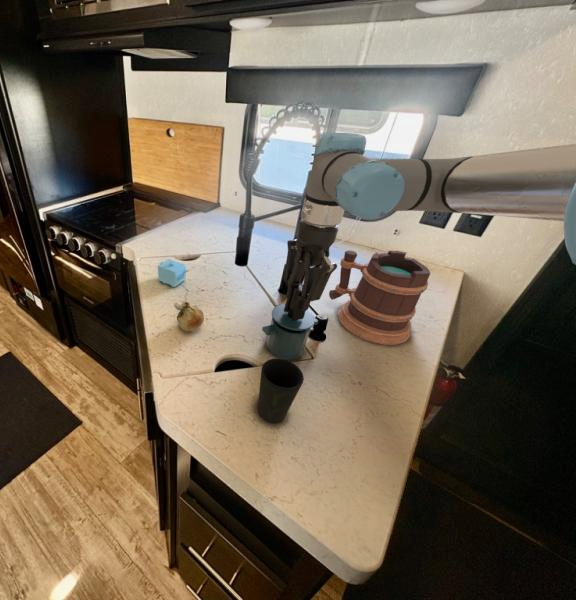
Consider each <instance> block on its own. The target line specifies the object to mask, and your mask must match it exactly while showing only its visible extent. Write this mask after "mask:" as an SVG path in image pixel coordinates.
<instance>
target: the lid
mask: <svg viewBox="0 0 576 600" xmlns="http://www.w3.org/2000/svg"><path fill="white" fill-rule="evenodd" d="M302 288H303V285H297V286H295V289H294V292H293V296H292V300H291V304H290V307H289V311H288V312H286V313H285V312H284V308H285V304H286V303H282V304H278V305H276V306H274V307H273V308H272V310H271V319H272V318H273V319H274V321H275V322H276V323H277V324H279V325H280V326H282V327H284V328H287V329H290V330H295V331H303V330H308V329H310V328H311V329H312V327H314V326H315V325H314V323H315V318H316V317H315V315H314V314H313V313H312V312H311V311H310V310H309V309H308V310H306V312H305V315H304V318H303V319H299V320H295V321H293V320H292V316H293V313H294V309H295V306H296V302H297V298H298V296H301V294H302ZM314 317H315V318H314Z"/></svg>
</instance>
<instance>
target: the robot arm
mask: <svg viewBox="0 0 576 600" xmlns="http://www.w3.org/2000/svg"><path fill="white" fill-rule="evenodd" d="M366 145H367V138H366V136H365V135H363V134H359V133H352V132H327V133H325V134H323V135H322V136H321V137H320V138H319V140H318V143H317V147H316V150H315V153H314V155H313V161H312V166H311V171H310V175H309V179H308V183H307V188H306V192H305V196H304V201H303V205H302V209H301V213H300V218H301V219H300V220H299V221H298V225H297V229H296V232H295V238H296V239H291V240H287V254H286V255H287V256H286V260H285V267H284V273H283V274H284V275H283V281H284V282H287V287H288V288H287V291H286V300H285V303H284V304H285V308H284V312H285V313H286V312H288V311H289V307H290V304H291V300H292V296H293V292H294V289H295V286H297V285H301V286H303V288H302V294H301V296H298V298H297V302H296V306H295V309H294V313H293V316H292V320H293V321H295V320H299V319H303V318H304V315H305V312H306V310H309V308H310V305H311V302H316V301H319V300H321V298H322V294H324V291H325V289H326V287H327V284H328V283H329V280H330V277H331V275H332V274H333V272H334V271H336V269H338V264H337V263H336V262H332V261H331V260H330V258H329V257H330V248H331V246H332V245H333V244H334V243H335V241H336V238H337V235H338V233H339V229H340V226H339V225H340V224H341V223H342V220H343V217H344V214H345V212H347V213H349V214H350V215H353V216H354V217H356V218H358V219H363V220H372V219H376V218H379V217H381V216H383V215H386V214H388V213H389V212H403V211H405V212H408V211H411V212H412V211H414V212H439V213H452V214H471V215H482V216H483V215H484V216H492V217H493V216H494V217H495V216H496V217H507V218H517V219H518V218H519V219H529V220H543V221H555V222H563V237H564V243H565V249H566V250H567V253H568V256H569V258H570V260H571V263H572V264H574V265H575V266H576V143H569V144H561V145H553V146H544V147H539V148H538V147H537V148H536V147H535V148H530V149H529V148H528V149H523V150H522V149H521V150H512V151H505V152H503V151H502V152H496V153H488V154H480V155H472V156H471V155H470V156H462V157H453V158H395V157H394V158H391V157H390V158H389V157H388V158H387V157H386V158H377V157H376V158H375V157H369V156H366V155H364V154H365V153H366ZM302 279H303V283H301V282H302Z"/></svg>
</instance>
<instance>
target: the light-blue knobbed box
mask: <svg viewBox="0 0 576 600" xmlns="http://www.w3.org/2000/svg"><path fill="white" fill-rule="evenodd" d="M187 272H190V270H189V269H187V265H186V264H184V263H181V262H179V261H176V260H173V259H167V260H165V261H164V262H160V263H159V265H158V266H157V277H158V281H160V282H162V284H167V285H170V287H171V288H175V287H176V286H178V285H179V284H181V283H182V282H183V281H185V280H187V279H186V277H187V275H186V274H187Z"/></svg>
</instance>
